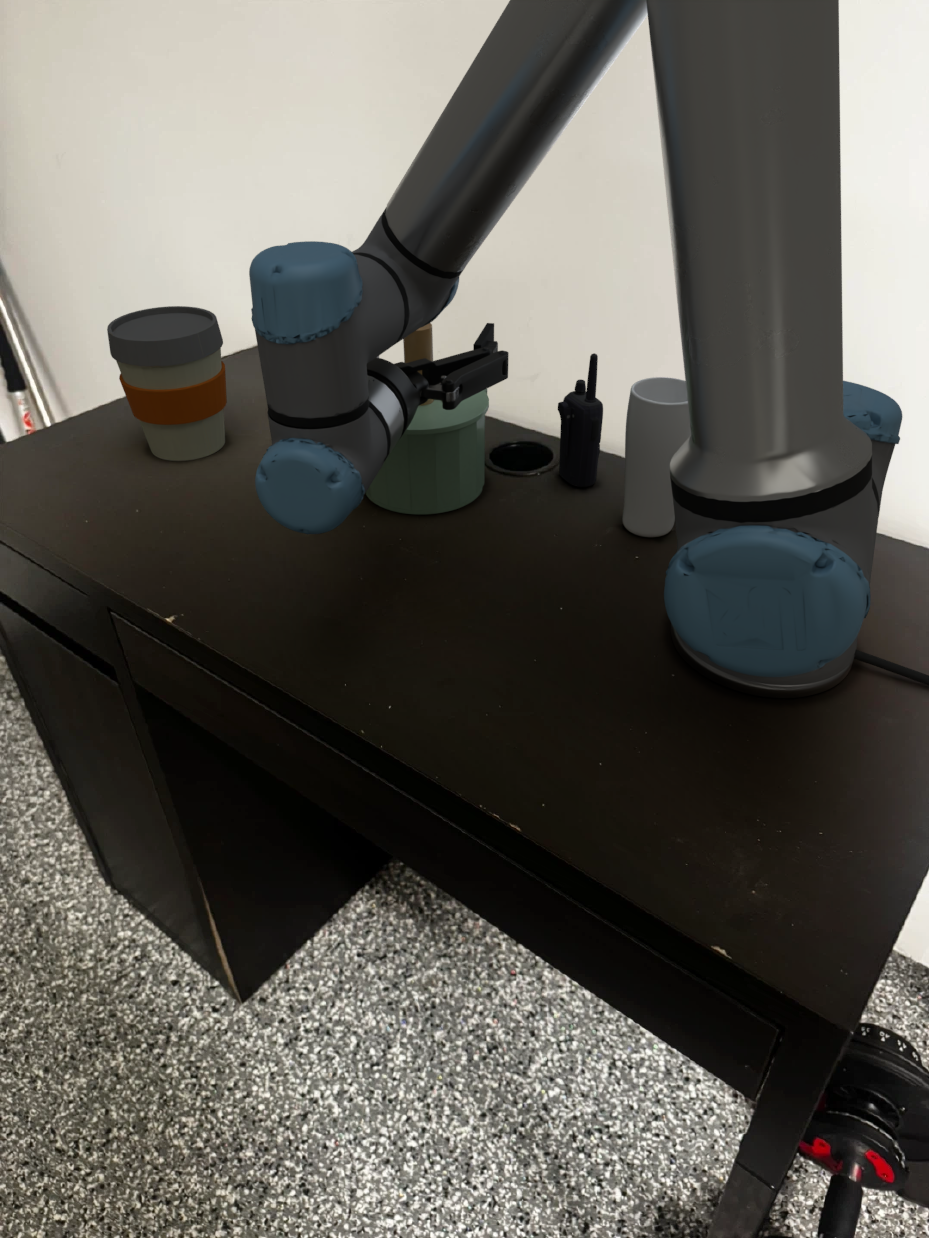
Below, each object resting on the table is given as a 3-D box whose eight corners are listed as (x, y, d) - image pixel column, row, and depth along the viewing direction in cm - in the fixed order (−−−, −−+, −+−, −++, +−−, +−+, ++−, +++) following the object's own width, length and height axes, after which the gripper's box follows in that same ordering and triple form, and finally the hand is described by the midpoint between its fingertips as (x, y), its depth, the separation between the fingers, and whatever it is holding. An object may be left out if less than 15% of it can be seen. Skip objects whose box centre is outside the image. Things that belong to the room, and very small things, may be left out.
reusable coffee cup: (154, 422, 115) (127, 305, 106) (250, 423, 114) (231, 305, 105) (120, 467, 105) (86, 341, 96) (225, 468, 104) (201, 342, 95)
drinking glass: (686, 543, 90) (709, 404, 81) (619, 544, 90) (635, 404, 81) (673, 510, 96) (694, 376, 87) (610, 510, 96) (624, 376, 87)
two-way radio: (602, 487, 100) (614, 356, 91) (567, 495, 98) (576, 363, 89) (577, 466, 104) (586, 340, 95) (543, 474, 102) (550, 346, 93)
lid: (517, 408, 96) (519, 323, 90) (421, 454, 87) (417, 362, 81) (420, 374, 104) (417, 294, 98) (323, 413, 95) (314, 327, 89)
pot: (523, 474, 102) (526, 396, 97) (406, 538, 91) (401, 454, 86) (438, 440, 110) (436, 365, 104) (320, 495, 99) (311, 415, 93)
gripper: (236, 441, 81) (318, 358, 97) (505, 466, 76) (543, 375, 93) (222, 360, 76) (310, 288, 93) (507, 382, 72) (546, 302, 88)
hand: (427, 331), depth 93 cm, fingers open, 13 cm apart
